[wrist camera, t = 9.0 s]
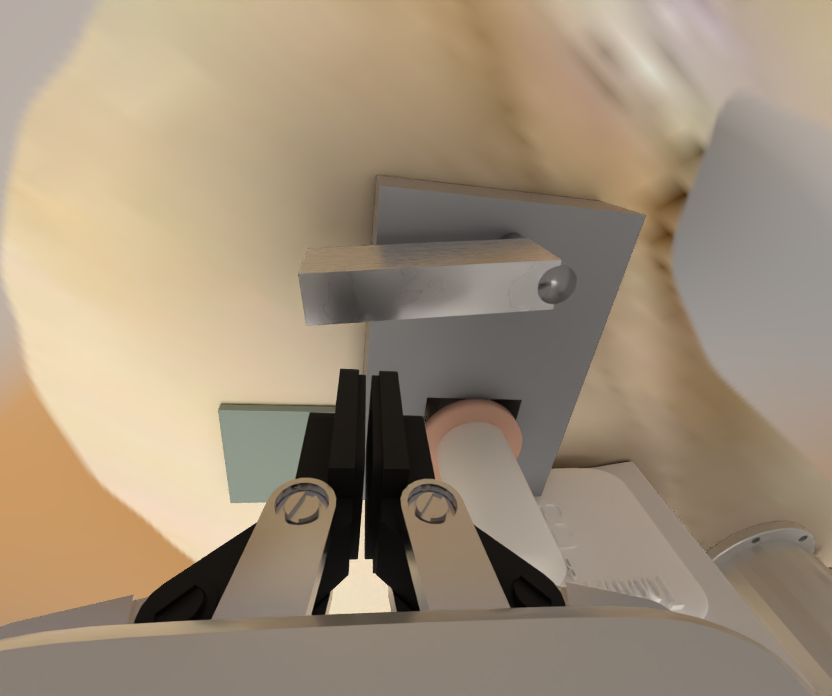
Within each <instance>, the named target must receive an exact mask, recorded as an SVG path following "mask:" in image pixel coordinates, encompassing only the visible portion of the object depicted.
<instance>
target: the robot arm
mask: <svg viewBox="0 0 832 696" xmlns="http://www.w3.org/2000/svg"><path fill="white" fill-rule="evenodd" d="M365 426H366V375H359V370H356V369H340V376H339V384H338V392H337V400H336V408H335V413H321V412H310V413H309V417H308V422H307V426H306V431H305V436H304V440H303V445H302V450H301V454H300V459H299V464H298V468H297V473H296V478H295V479H294V480H290V481H288V482H286V483H284V484H282V485H280V486H279V487H278V488H277V489H276V490H274V491H273V493H272V494H271V496H270V497H269V499H268V501H267V503H266V505H265V507H264V509H263V511H262V513H261V515H260V518H259V520H258V522H257V523H255V524H254V525H252V526H251V527H249V528H248V529H246V530H245V531H243V532H242V533H240V534H239V535H237V536H236V537H234V538H233V539H231V540H230V541H228V542H226V543H225V544H223V545H222V546H220V547H219V548H217V549H216V550H214V551H213V552H211V553H210V554H208V555H207V556H205V557H204V558H202V559H201V560H199V561H198V562H196V563H195V564H193V565H192V566H190V567H189V568H187V569H186V570H184V571H183V572H181V573H179V574H178V575H176V576H175V577H173V578H172V579H171V580H169V581H167V582H166V583H164V584H163V585H162V586H161V587H160V588H158V589H157V590H156V591H154V592H153V593H152V594H151V595H150V596H149V597H147V598H143V599H139V600H135V597H134V595H130V596H126V597H122V598H117V599H113V600H109V601H104V602H100V603H96V604H91V605H87V606H83V607H79V608H74V609H70V610H65V611H61V612H57V613H52V614H48V615H44V616H40V617H35V618H31V619H26V620H22V621H18V622H14V623H10V624H7V625H5V626H2V627H0V696H832V567H829V568H828V567H826V566H825V565H824V564H823V563H822V562H821V561H820V560H819V559H818V558H817V557H816V556H815V555H814V552H815V546H816V543H815V539H814V537H813V536H812V534H811V533H809V532H808V531H807V530H806V529H805V528H804V527H802V526H801V525H799V524H797V523H794V522H788V521H774V522H768V523H763V524H759V525H756V526H752V527H750V528H747V529H744V530H742V531H739V532H737V533H735V534H733V535H731V536H729V537H727V538H726V539H724V540H723V541H721V542H719V543H718V544H716V545H715V546H714V547H712V548H711V549H710V550H709V551H707V552H706V553H707V555H708V556H709V557H710V558H711V560H712V561H713V562H714V563H715V565H716V566H717V567H718V568H719V570H720V571H721V572H722V573H723V575H724V576H725V577H726V578H727V580H728V581H729V582H730V583H731V585H732V586H733V587H734V588H735V589H736V591H737V592H738V593H739V594H740V596H741V597H742V598H743V599H744V601H745V602H746V603H747V604H748V606H749V607H750V608H751V609H752V611H753V612H754V613H755V614H756V616H757V617H758V618H759V619H760V621H761V622H762V623H763V624H764V626H765V627H766V628H767V629H768V631H769V632H770V633H771V634H772V636H773V637H774V638H775V639H776V640H777V642H778V643H779V644H780V645H781V647H782V648H783V649H784V650H785V652H786V653H787V654H788V655H789V657H790V658H791V659H792V660H793V662H794V663H795V664H796V666H797V667H798V668H799V669H800V671H801V672H802V673H803V674H804V676H805V677H806V678H807V679H808V681H809V682H810V683H811V685H812V686H813V687H814V689H815V690H816V692H815V691H814V690H813V689H812V688H811V687H810V686H809V685H808V684H807V683H806V682H805V681H804V680H803V679H802V678H801V677H800V676H799V675H798V674H797V673H796V672H795V671H794V670H793V669H792V668H791V667H790V666H789V665H788V664H786V663H785V662H784V661H783V660H782V659H781V658H779V657H778V656H777V655H776V654H775V653H773V652H772V651H770V650H769V649H767V648H766V647H764V646H763V645H761V644H760V643H758V642H756V641H754V640H752V639H750V638H748V637H746V636H745V635H742V634H740V633H738V632H736V631H733V630H731V629H729V628H727V627H724V626H721V625H718V624H715V623H713V622H710V621H707V620H704V619H701V618H698V617H694V616H690V615H686V614H681V613H677V612H672V611H670V610H669V609H667V608H666V607H664V606H663V605H662V604H660V603H657V602H655V601H652V600H649V599H646V598H641V597H636V596H631V595H626V594H621V593H617V592H612V591H607V590H602V589H597V588H592V587H587V586H582V585H578V584H573V583H568V582H565V583H564V585H563V587H562V586H557V585H555V584H554V582H553V581H552V580H550V579H549V578H548V577H547V576H546V575H545V574H543V573H542V572H541V571H539V570H538V569H536V568H535V567H533V566H532V565H531V564H529V563H528V562H526V561H525V560H524V559H522V558H521V557H519V556H518V555H516V554H515V553H514V552H512V551H511V550H509V549H508V548H506V547H505V546H504V545H502V544H501V543H499V542H498V541H496V540H495V539H494V538H492V537H491V536H489V535H488V534H487V533H485V532H484V531H482V530H481V529H479V528H478V527H477V526H475V525H474V524H473V522H472V520H471V517H470V515H469V513H468V511H467V508H466V506H465V504H464V501H463V499H462V498H461V496H460V494H459V493H458V492H457V491H456V490H455V489H454V488H453V487H452V486H450V485H449V484H447V483H445V482H443V481H439V480H435V475H434V470H433V464H432V459H431V454H430V449H429V444H428V439H427V433H426V428H425V423H424V419H423V416H413V415H403V409H402V401H401V393H400V385H399V377H398V372H397V371H379V375H372V378H371V390H370V403H369V416H368V428H367V441H366V463H365ZM364 474H365V559H373V573H376V575H377V576H378V577H379V578H381V579H382V580H383V581H384V582H385V583H386V584H387V585H388V596H389V602H390V607H391V612H383V613H358V614H332V615H328V614H329V610H330V605H331V601H332V593H333V589H334V588H335V587H336V586H337V585H338V584H339V583H340V582H341V581H342V580H343V579H344V578H346V577H347V576H348V573H349V559H358V550H359V538H360V525H361V513H362V500H363V488H364Z"/></svg>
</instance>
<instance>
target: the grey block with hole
mask: <svg viewBox="0 0 832 696" xmlns="http://www.w3.org/2000/svg"><path fill="white" fill-rule="evenodd" d="M645 217H646V215H643V214H640V213H637V212H634V211H631V210H627V209H624V208H621V207H618V206H615V205H611V204H608V203H605V202H602V201H597V200H588V199H580V198H571V197H562V196H554V195H545V194H537V193H528V192H519V191H511V190H502V189H494V188H485V187H476V186H468V185H459V184H451V183H442V182H433V181H425V180H416V179H408V178H399V177H390V176H382V175H376V188H375V203H374V217H373V232H372V245H388V244H409V243H431V242H452V241H473V240H495V239H501V238H502V237H503V236H504V235H506V234H508V233H518V234H520V235H522V236H523V237H525V238H529V239H531V240H532V241H534V242H535V243H537V244H538V245H540V246H541V247H543V248H544V249H546V250H547V251H549V252H550V253H552V254H553V255H555V256H556V257H558V258H560V259H561V262H562V263H564V264H565V265H567V266H568V267H570V268H571V269H572V270H573V271H574V272H575V274H576V277H577V284H576V288H575V290H574V292H573V293H572V295H571V296H570V297H569V298H568V299H567V300H565V301H563V302H561V303H558V304H554V308H553V309H552V310H537V311H522V312H507V313H492V314H477V315H462V316H447V317H432V318H417V319H402V320H386V321H371V322H366V334H365V349H364V364H363V375H366V426H365V463H366V441H367V428H368V416H369V403H370V390H371V378H372V375H379V371H397V372H398V377H399V385H400V393H401V401H402V409H403V415H413V416H423V419H424V414H425V408H426V402H427V398H468V399H491V401H493V402H496V403H498V404H500V405H502V406H504V407H505V408H506V409H507V410H509V411H510V413H511V414H512V415H513V417H514V419H515V420H516V422H517V424H518V426H519V428H520V430H521V434H522V447H521V451H520V453H519V456H518V457H517V459H516V460H517V462H518V465H519V467H520V469H521V471H522V473H523V475H524V477H525V479H526V481H527V483H528V486H529V488H530V490H531V492H532V494H533V496H541V495H542V492H543V490H544V487H545V484H546V482H547V479H548V476H549V474H550V471H551V468H552V466H553V463H554V460H555V458H556V455H557V452H558V450H559V447H560V444H561V441H562V439H563V436H564V433H565V431H566V428H567V425H568V423H569V420H570V417H571V415H572V412H573V409H574V407H575V404H576V401H577V399H578V396H579V393H580V391H581V388H582V385H583V383H584V380H585V377H586V375H587V372H588V369H589V367H590V364H591V361H592V359H593V356H594V353H595V351H596V348H597V345H598V342H599V340H600V337H601V334H602V332H603V329H604V326H605V324H606V321H607V318H608V316H609V313H610V310H611V308H612V305H613V302H614V300H615V297H616V294H617V292H618V289H619V286H620V284H621V281H622V278H623V276H624V273H625V270H626V268H627V265H628V262H629V260H630V257H631V254H632V252H633V249H634V246H635V243H636V241H637V238H638V235H639V233H640V230H641V227H642V225H643V222H644V219H645ZM363 500H365V474H364V488H363Z"/></svg>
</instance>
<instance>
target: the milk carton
mask: <svg viewBox="0 0 832 696" xmlns="http://www.w3.org/2000/svg"><path fill="white" fill-rule="evenodd" d="M591 469H598V470H602V471H605V472H608V473H610V474H612V475H614V476H616V477H618V478H619V479H621V480H622V481H623V482H624V483H625V484H626V485H627V487H628V488H629V490H630V491H631V492H632V494H633V495H634V496H635V498H636V499H637V500H638V502H639V503H640V504H641V506H642V507H643V509H644V510H645V511H646V513H647V514H648V515H649V517H650V518H651V519H652V521H653V522H654V524H655V525H656V526H657V528H658V529H659V530H660V532H661V533H662V534H663V536H664V537H665V539H666V540H667V541H668V543H669V544H670V545H671V547H672V548H673V549H674V551H675V552H676V553H677V555H678V556H679V558H680V559H681V560H682V562H683V563H684V564H685V566H686V567H687V568H688V570H689V571H690V573H691V574H692V575H693V577H694V578H695V579H696V581H697V582H698V583H699V585H700V586H701V588H702V589H703V591H704V592H705V594H706V597H707V600H708V612H707V614H706V616H705V618H704V620H707V621H710V622H713V623H715V624H718V625H721V626H724V627H727V628H729V629H731V630H733V631H736V632H738V633H740V634H742V635H745V636H746V637H748V638H750V639H752V640H754V641H756V642H758V643H760V644H761V645H763V646H764V647H766V648H767V649H769V650H770V651H772V652H773V653H775V654H776V655H777V656H778V657H779V658H781V659H782V660H783V661H784V662H785V663H786V664H788V665H789V666H790V667H791V668H792V669H793V670H794V671H795V672H796V673H797V674H798V675H799V676H800V677H801V678H802V679H803V680H804V681H805V682H806V683H807V684H808V685H809V686H810V687H811V688H812V689H813V690H814V691H815V692H816V690H815V689H814V687H813V686H812V685H811V683H810V682H809V681H808V679H807V678H806V677H805V676H804V674H803V673H802V672H801V671H800V669H799V668H798V667H797V666H796V664H795V663H794V662H793V660H792V659H791V658H790V657H789V655H788V654H787V653H786V652H785V650H784V649H783V648H782V647H781V645H780V644H779V643H778V642H777V640H776V639H775V638H774V637H773V636H772V634H771V633H770V632H769V631H768V629H767V628H766V627H765V626H764V624H763V623H762V622H761V621H760V619H759V618H758V617H757V616H756V614H755V613H754V612H753V611H752V609H751V608H750V607H749V606H748V604H747V603H746V602H745V601H744V599H743V598H742V597H741V596H740V594H739V593H738V592H737V591H736V589H735V588H734V587H733V586H732V585H731V583H730V582H729V581H728V580H727V578H726V577H725V576H724V575H723V573H722V572H721V571H720V570H719V568H718V567H717V566H716V565H715V563H714V562H713V561H712V560H711V558H710V557H709V556H708V555H707V553H706V552H705V551H704V550H703V548H702V547H701V546H700V545H699V543H698V542H697V541H696V540H695V539H694V537H693V536H692V535H691V534H690V532H689V531H688V530H687V529H686V527H685V526H684V525H683V524H682V522H681V521H680V520H679V519H678V517H677V516H676V515H675V514H674V512H673V511H672V510H671V509H670V507H669V506H668V505H667V504H666V502H665V501H664V500H663V499H662V497H661V496H660V495H659V494H658V492H657V491H656V490H655V489H654V488H653V486H652V485H651V484H650V483H649V481H648V480H647V479H646V478H645V476H644V475H643V474H642V473H641V471H640V470H639V469H638V468H637V466H636V465H635V464H634V463H633V462H632V461H630V462H624V463H617V464H611V465H605V466H599V467H592V468H591Z"/></svg>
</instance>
